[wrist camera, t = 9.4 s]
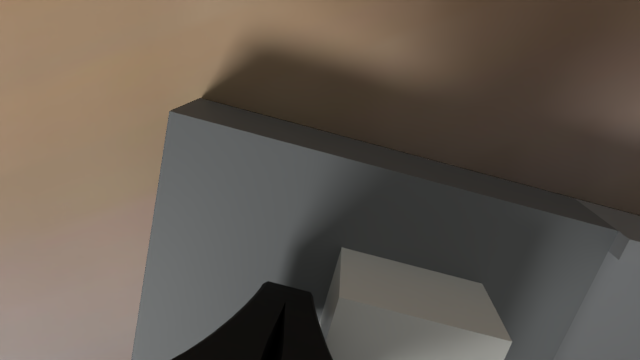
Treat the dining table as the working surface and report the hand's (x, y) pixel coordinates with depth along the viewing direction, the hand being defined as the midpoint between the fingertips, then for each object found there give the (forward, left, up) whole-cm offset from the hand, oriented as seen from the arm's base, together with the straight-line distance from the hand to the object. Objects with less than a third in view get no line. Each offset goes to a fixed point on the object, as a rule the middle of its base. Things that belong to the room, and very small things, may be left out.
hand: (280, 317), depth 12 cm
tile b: (0, -3, -1) cm, 3 cm away
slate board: (-4, -2, -3) cm, 5 cm away
